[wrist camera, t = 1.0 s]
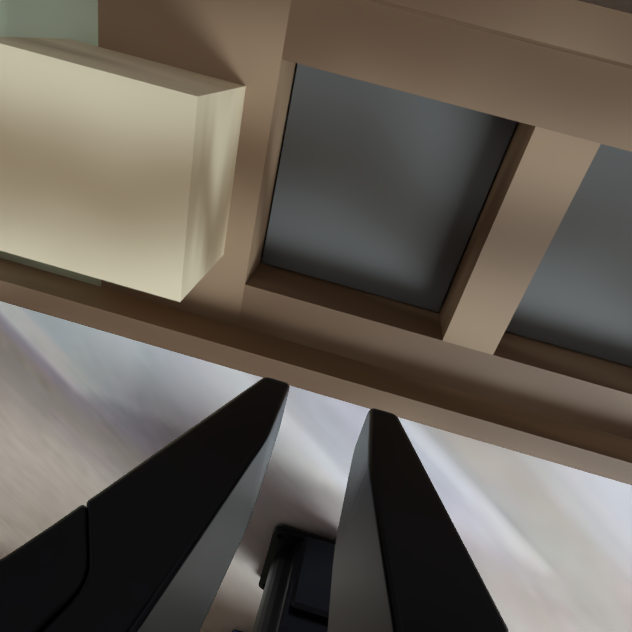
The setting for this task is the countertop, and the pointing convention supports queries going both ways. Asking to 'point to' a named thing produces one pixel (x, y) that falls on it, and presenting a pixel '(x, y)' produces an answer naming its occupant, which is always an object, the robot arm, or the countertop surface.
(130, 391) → the countertop surface
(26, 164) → the maple block
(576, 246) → the box
